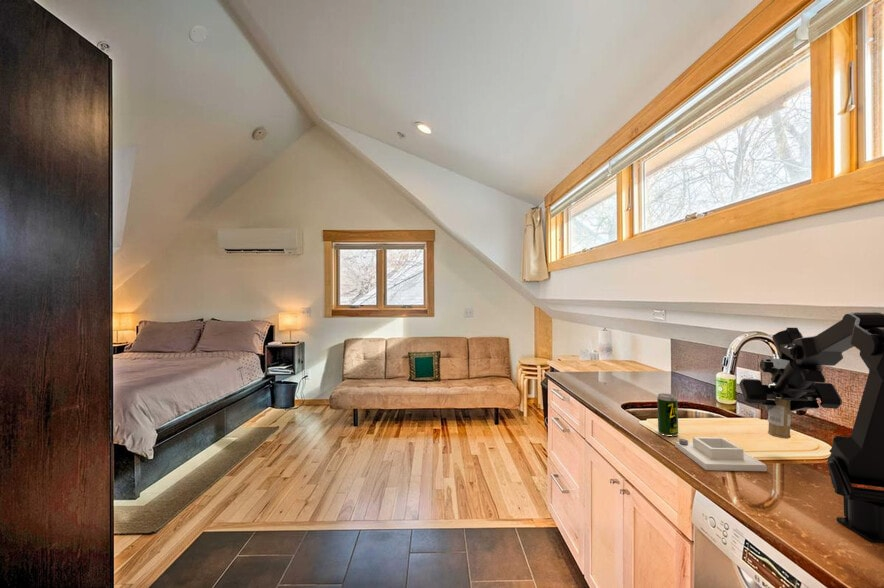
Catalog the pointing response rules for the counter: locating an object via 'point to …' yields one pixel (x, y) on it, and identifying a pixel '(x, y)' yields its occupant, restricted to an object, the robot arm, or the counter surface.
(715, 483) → the counter surface
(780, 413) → the sprinkles bottle
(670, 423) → the beer can
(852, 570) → the counter surface
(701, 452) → the housing
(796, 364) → the robot arm
